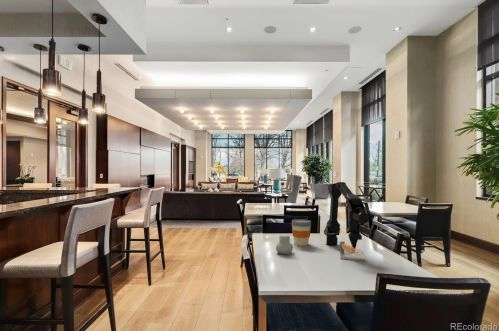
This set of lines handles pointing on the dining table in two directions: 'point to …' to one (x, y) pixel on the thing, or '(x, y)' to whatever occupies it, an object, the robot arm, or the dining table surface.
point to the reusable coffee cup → (301, 231)
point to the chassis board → (352, 255)
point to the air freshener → (284, 245)
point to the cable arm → (347, 247)
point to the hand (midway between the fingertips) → (354, 249)
